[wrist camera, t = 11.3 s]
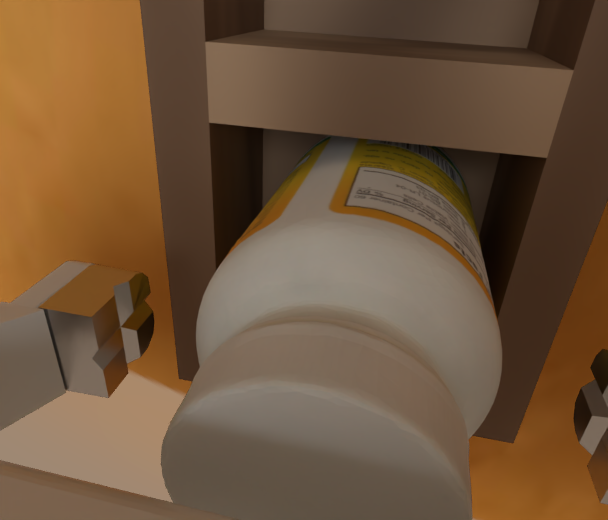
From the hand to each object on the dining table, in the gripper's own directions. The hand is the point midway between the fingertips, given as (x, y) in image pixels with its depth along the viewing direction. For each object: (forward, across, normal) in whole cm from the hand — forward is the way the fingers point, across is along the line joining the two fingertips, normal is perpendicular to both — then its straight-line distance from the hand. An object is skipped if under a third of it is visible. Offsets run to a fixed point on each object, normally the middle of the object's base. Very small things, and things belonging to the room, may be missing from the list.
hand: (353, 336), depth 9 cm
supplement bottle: (+6, 0, 0) cm, 6 cm away
